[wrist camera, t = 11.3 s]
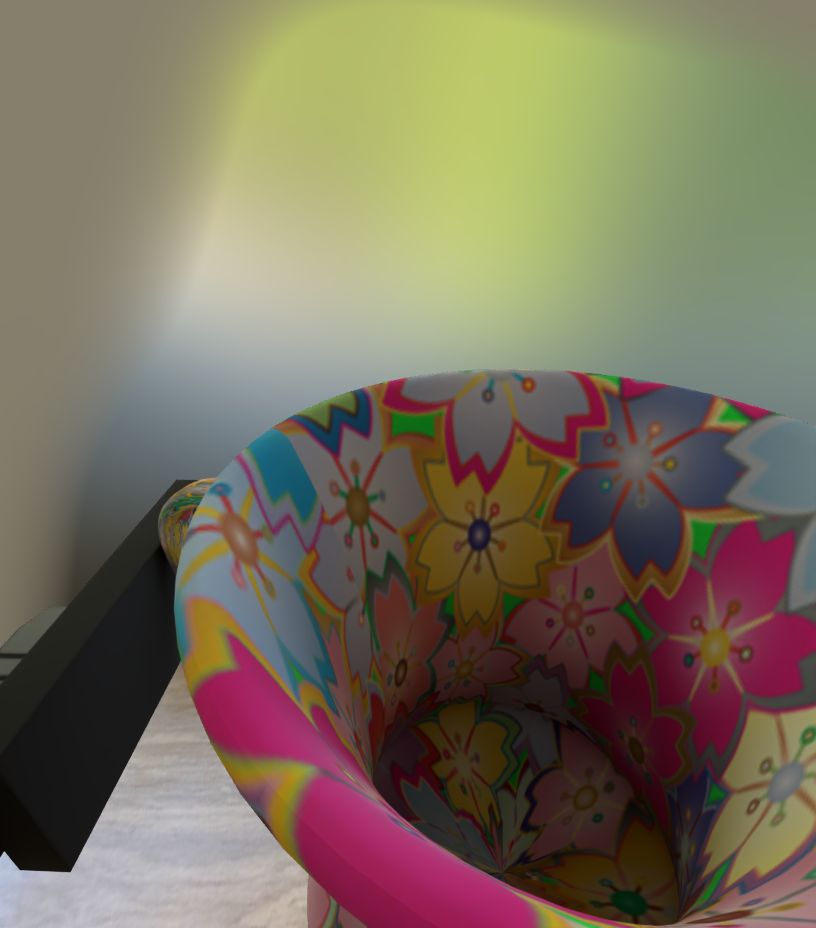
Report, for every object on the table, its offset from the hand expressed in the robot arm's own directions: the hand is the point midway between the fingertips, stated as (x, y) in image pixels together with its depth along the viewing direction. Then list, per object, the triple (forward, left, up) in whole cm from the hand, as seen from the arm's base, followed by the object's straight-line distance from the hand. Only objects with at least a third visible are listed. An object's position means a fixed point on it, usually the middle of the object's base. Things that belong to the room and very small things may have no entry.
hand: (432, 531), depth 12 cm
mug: (+2, -3, -7) cm, 8 cm away
